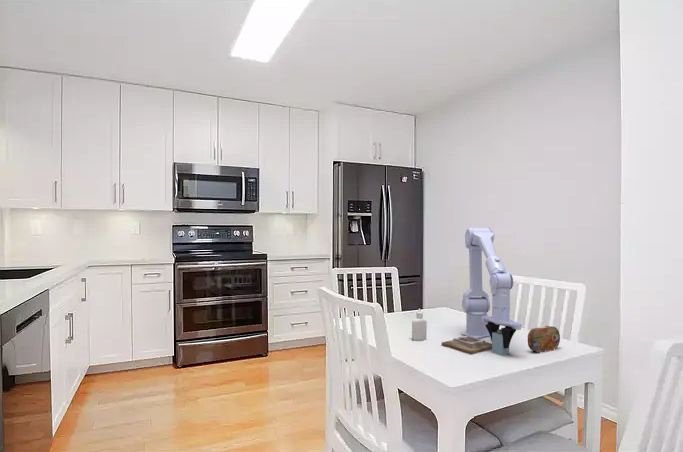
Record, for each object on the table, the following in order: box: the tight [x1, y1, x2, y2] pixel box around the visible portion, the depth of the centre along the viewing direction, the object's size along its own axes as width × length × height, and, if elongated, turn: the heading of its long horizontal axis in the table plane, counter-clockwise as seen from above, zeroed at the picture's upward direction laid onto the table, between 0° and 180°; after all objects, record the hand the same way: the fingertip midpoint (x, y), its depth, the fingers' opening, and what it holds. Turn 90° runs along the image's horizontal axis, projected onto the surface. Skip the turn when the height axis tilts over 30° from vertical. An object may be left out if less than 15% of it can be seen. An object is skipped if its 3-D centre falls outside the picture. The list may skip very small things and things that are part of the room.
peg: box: [491, 328, 510, 356], centre depth 141 cm, size 4×4×8 cm
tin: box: [527, 325, 561, 354], centre depth 145 cm, size 15×3×8 cm, turn 117°
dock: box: [441, 335, 492, 355], centre depth 148 cm, size 15×13×2 cm
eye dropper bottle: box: [411, 308, 428, 342], centre depth 156 cm, size 4×6×12 cm
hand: (500, 346), depth 141 cm, fingers closed on peg, 4 cm apart
